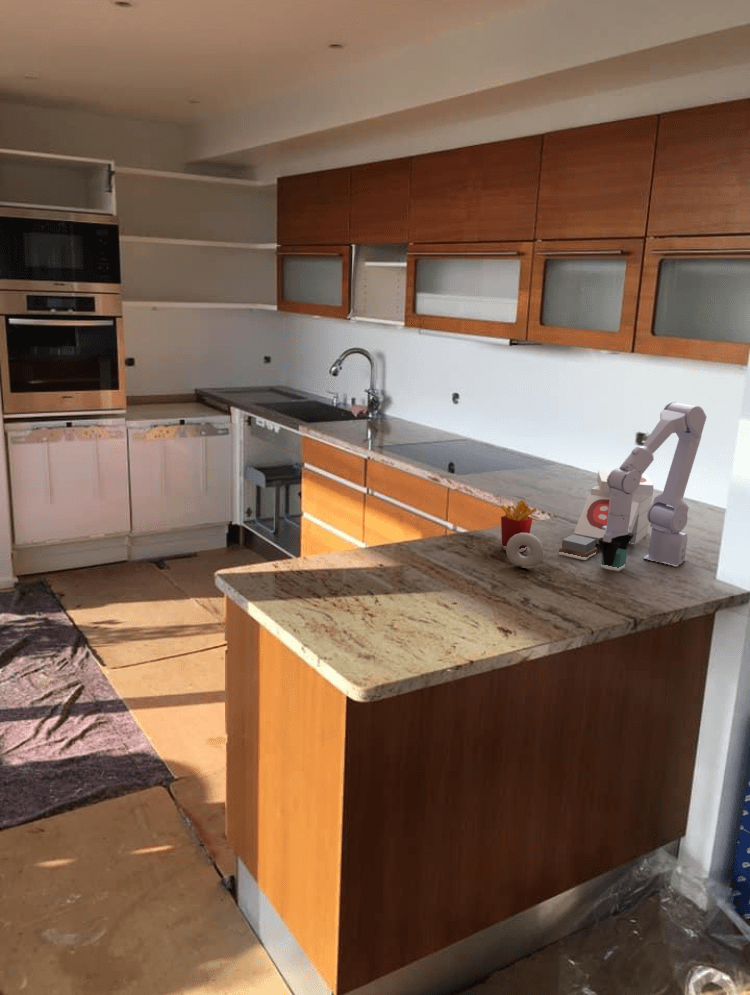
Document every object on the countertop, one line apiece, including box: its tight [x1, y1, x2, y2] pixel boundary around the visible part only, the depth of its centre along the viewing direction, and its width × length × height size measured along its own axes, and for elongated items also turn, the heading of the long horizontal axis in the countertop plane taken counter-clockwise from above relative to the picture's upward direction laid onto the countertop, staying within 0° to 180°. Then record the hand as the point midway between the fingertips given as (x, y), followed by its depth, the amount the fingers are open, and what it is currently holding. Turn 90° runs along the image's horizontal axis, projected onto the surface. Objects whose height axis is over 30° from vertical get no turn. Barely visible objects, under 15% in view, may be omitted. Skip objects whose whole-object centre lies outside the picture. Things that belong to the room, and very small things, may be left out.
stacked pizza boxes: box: [573, 470, 654, 545], centre depth 252 cm, size 19×30×18 cm, turn 148°
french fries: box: [500, 499, 537, 549], centre depth 237 cm, size 9×8×15 cm
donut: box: [505, 533, 544, 567], centre depth 223 cm, size 10×4×10 cm, turn 68°
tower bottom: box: [558, 546, 598, 557], centre depth 238 cm, size 8×8×2 cm
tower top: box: [561, 533, 596, 553], centre depth 237 cm, size 7×7×2 cm
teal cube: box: [600, 548, 628, 568], centre depth 227 cm, size 5×5×5 cm
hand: (613, 561), depth 227 cm, fingers open, 7 cm apart
